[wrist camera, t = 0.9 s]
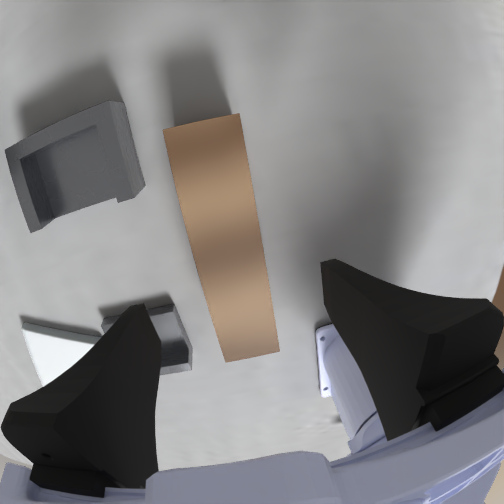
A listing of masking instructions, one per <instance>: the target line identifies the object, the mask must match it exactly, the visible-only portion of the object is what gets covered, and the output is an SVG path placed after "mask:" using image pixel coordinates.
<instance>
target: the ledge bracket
mask: <svg viewBox="0 0 504 504" xmlns="http://www.w3.org/2000/svg"><path fill="white" fill-rule="evenodd" d="M147 312H148V314H149V316H150V319H151V321H152V323H153V325H154V327H155V329H156V331H157V333H158V336H159V338H160V340H161V369H160V375H165V374H171V373H177V372H184V371H189V370H192V346H191V344H190V341H189V339H188V337H187V334H186V332H185V329H184V327H183V325H182V322H181V320H180V317H179V315H178V312H177V310H176V307H175V305H174V304H172V305H167V306H162V307H158V308H153V309H148V310H147ZM120 316H121V315H118V316H113V317H108V318H104V320H103V322H102V325H101V327H102V329H103V331H104V333H106V332H107V331H108V330H109V329H110V327H111V326H112V325H113V324H114V323H115V322H116V321H117V320H118V318H119V317H120Z"/></svg>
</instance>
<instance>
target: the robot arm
mask: <svg viewBox="0 0 504 504" xmlns="http://www.w3.org/2000/svg"><path fill="white" fill-rule="evenodd" d="M320 263H321V273H322V284H323V295H324V305H325V307H326V309H327V312H328V314H329V317H330V319H331V321H332V323H333V324H331V325H327V326H324V327H321V328H318V329H317V331H316V344H317V355H318V367H319V381H320V394H321V396H322V397H328V396H331V395H332V398H333V400H334V403H335V405H336V407H337V410H338V412H339V415H340V417H341V420H342V422H343V425H344V427H345V430H346V432H347V434H348V436H349V438H350V441H348V445H349V448H350V450H351V454H349V455H347V456H346V457H344V458H341V459H338V460H335V461H332V462H329V461H328V459H327V458H326V457H325V456H324V455H323V454H320V453H316V452H307V451H296V452H289V453H281V454H275V455H271V456H266V457H261V458H256V459H250V460H245V461H239V462H232V463H225V464H218V465H210V466H201V467H190V468H177V469H170V470H165V471H158V463H157V454H156V439H155V407H156V398H157V391H158V383H159V376H160V369H161V340H160V338H159V336H158V333H157V331H156V329H155V327H154V325H153V323H152V321H151V319H150V316H149V314H148V312H147V310H146V307H145V305H144V304H139V305H134V306H130V307H129V308H128V309H127V310H126V311H125V312H124V313H123V314H122V315H121V316H120V317H119V318H118V320H117V321H116V322H115V323H114V324H113V325H112V326H111V327H110V329H109V330H108V331H107V332H106V333H105V334H104V335H103V336H102V337H101V338H100V339H99V341H98V342H97V343H96V344H95V345H94V346H93V347H92V348H91V349H90V350H89V351H88V352H87V353H86V354H85V355H84V356H83V357H82V358H81V359H79V360H78V361H77V362H76V363H75V364H74V365H73V366H71V367H70V368H69V369H68V370H66V371H65V372H64V373H62V374H61V375H60V376H58V377H57V378H56V379H54V380H53V381H51V382H50V383H48V384H47V385H45V386H44V387H42V388H40V389H38V390H37V391H35V392H33V393H31V394H29V395H27V396H25V397H23V398H21V399H19V400H17V401H15V402H12V403H11V404H10V406H9V408H8V410H7V413H6V415H5V417H4V420H3V422H2V424H1V430H2V432H3V435H4V436H5V438H6V439H7V440H8V441H9V442H10V443H11V444H12V445H13V446H14V447H15V448H16V449H17V450H18V451H19V452H21V453H22V454H23V455H24V456H25V457H26V458H28V459H29V460H30V461H31V462H32V463H34V464H33V468H32V470H31V469H29V468H27V467H25V466H21V465H17V464H13V463H9V462H8V463H6V466H5V469H4V472H3V476H2V479H1V482H0V504H485V503H484V500H485V498H486V496H487V494H488V492H489V490H490V488H491V486H492V484H493V481H494V480H495V478H496V475H497V473H498V471H499V468H500V465H501V461H502V460H503V459H504V368H503V369H502V371H501V370H500V369H499V368H498V366H497V364H498V363H499V359H498V358H497V357H496V356H495V355H494V352H495V349H496V347H497V344H498V341H499V339H500V336H501V333H502V330H503V326H504V316H503V313H502V312H501V311H500V310H499V309H498V308H496V307H495V306H494V305H493V304H492V303H491V302H490V301H489V300H488V299H471V298H452V297H443V296H436V295H431V294H426V293H421V292H417V291H413V290H409V289H406V288H403V287H399V286H396V285H393V284H391V283H388V282H385V281H383V280H380V279H378V278H376V277H373V276H371V275H369V274H367V273H364V272H362V271H360V270H358V269H356V268H354V267H352V266H350V265H348V264H346V263H344V262H342V261H339V260H337V259H332V260H328V261H324V262H320ZM323 336H324V337H323ZM321 337H323V338H321Z"/></svg>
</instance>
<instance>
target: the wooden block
mask: <svg viewBox="0 0 504 504" xmlns="http://www.w3.org/2000/svg"><path fill="white" fill-rule="evenodd" d="M163 134H164V138H165V143H166V148H167V152H168V157H169V161H170V165H171V170H172V174H173V178H174V182H175V187H176V191H177V195H178V199H179V203H180V207H181V211H182V215H183V219H184V223H185V226H186V230H187V234H188V238H189V242H190V245H191V249H192V253H193V256H194V260H195V263H196V267H197V271H198V274H199V278H200V281H201V285H202V288H203V291H204V295H205V298H206V302H207V305H208V308H209V312H210V315H211V318H212V321H213V325H214V328H215V331H216V334H217V337H218V340H219V344H220V347H221V350H222V353H223V356H224V359H225V362H231V361H237V360H242V359H247V358H252V357H257V356H261V355H266V354H270V353H275V352H279V351H280V349H279V342H278V336H277V330H276V324H275V318H274V311H273V305H272V299H271V293H270V287H269V281H268V275H267V269H266V263H265V257H264V251H263V245H262V239H261V233H260V227H259V222H258V216H257V210H256V204H255V198H254V193H253V187H252V181H251V176H250V170H249V164H248V159H247V153H246V147H245V142H244V136H243V131H242V125H241V120H240V114H239V113H238V114H233V115H227V116H222V117H217V118H212V119H207V120H202V121H197V122H193V123H189V124H184V125H180V126H176V127H172V128H168V129H164V130H163Z"/></svg>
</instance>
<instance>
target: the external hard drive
mask: <svg viewBox="0 0 504 504" xmlns="http://www.w3.org/2000/svg"><path fill="white" fill-rule="evenodd" d="M21 329H22V332H23V335H24V339H25V341H26V344H27V347H28V350H29V353H30V356H31V359H32V361H33V364H34V367H35V369H36V372H37V374H38V377H39V379H40V382H41V384H42V386H43V387H44V386H45V385H47V384H48V383H50V382H51V381H53V380H54V379H56V378H57V377H58V376H60V375H61V374H62V373H64V372H65V371H66V370H68V369H69V368H70V367H71V366H73V365H74V364H75V363H76V362H77V361H78V360H79V359H81V358H82V357H83V356H84V355H85V354H86V353H87V352H88V351H89V350H90V349H91V348H92V347H93V346H94V345H95V344H96V343H97V342H98V341H99V339H100V338H101V337H97V336H91V335H85V334H79V333H74V332H68V331H63V330H58V329H53V328H48V327H43V326H39V325H34V324H30V323H26V322H24V324H23V326H22V328H21Z"/></svg>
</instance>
